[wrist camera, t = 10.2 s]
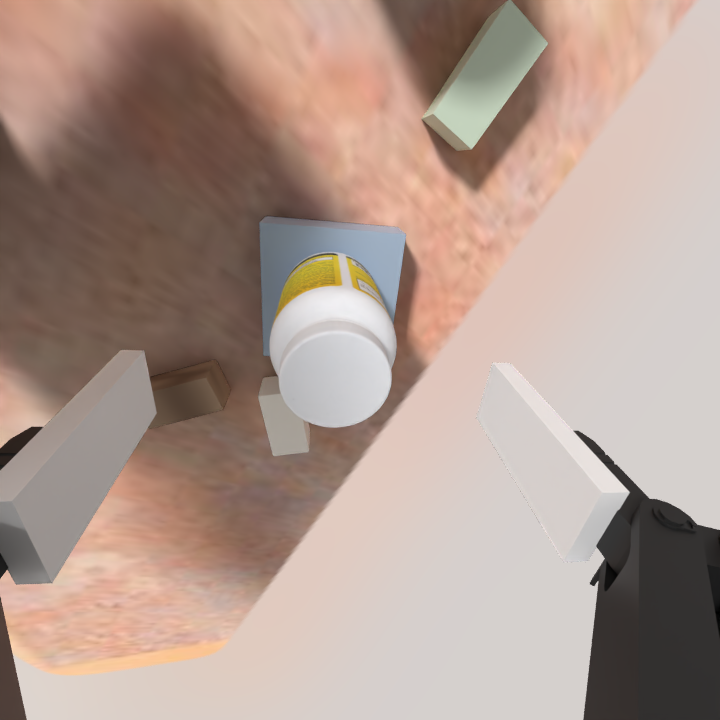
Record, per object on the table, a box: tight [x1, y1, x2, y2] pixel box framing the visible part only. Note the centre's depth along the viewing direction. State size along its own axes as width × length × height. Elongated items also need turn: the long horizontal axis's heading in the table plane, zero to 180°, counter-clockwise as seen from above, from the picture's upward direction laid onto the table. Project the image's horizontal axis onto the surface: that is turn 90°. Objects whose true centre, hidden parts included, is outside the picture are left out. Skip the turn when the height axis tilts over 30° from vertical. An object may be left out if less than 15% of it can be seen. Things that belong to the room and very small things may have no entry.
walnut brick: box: [148, 360, 231, 429], centre depth 29 cm, size 6×3×3 cm, turn 104°
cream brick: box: [258, 376, 310, 456], centre depth 31 cm, size 6×3×3 cm, turn 5°
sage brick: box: [422, 0, 548, 151], centre depth 22 cm, size 6×3×3 cm, turn 145°
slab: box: [259, 216, 406, 356], centre depth 26 cm, size 9×9×3 cm
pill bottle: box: [269, 252, 397, 428], centre depth 20 cm, size 6×6×11 cm
